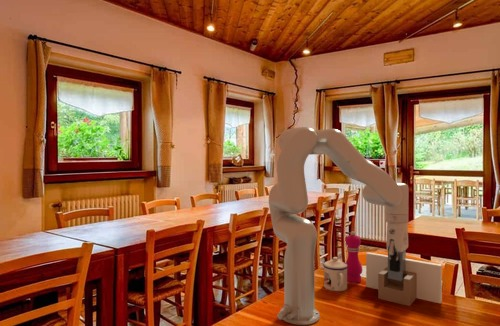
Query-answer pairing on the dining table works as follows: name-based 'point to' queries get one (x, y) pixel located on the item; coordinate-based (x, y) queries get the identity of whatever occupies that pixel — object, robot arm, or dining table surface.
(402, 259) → the blue-grey rectangular block
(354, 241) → the pepper mill
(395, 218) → the robot arm
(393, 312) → the dining table surface
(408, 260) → the upright white panel
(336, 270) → the teacup with lid
